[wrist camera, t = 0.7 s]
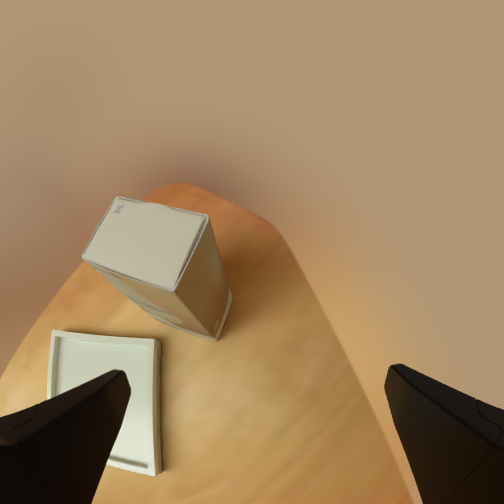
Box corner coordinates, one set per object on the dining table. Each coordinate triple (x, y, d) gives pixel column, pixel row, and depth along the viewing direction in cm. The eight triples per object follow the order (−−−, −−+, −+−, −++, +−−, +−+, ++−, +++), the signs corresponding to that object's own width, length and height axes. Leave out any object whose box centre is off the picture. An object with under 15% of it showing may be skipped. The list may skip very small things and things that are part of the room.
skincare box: (155, 320, 23) (74, 257, 12) (172, 278, 25) (112, 193, 14) (221, 344, 22) (173, 294, 11) (237, 297, 24) (210, 211, 13)
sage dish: (162, 471, 16) (155, 476, 15) (58, 441, 17) (48, 442, 15) (161, 342, 22) (154, 338, 21) (61, 333, 23) (52, 329, 21)
